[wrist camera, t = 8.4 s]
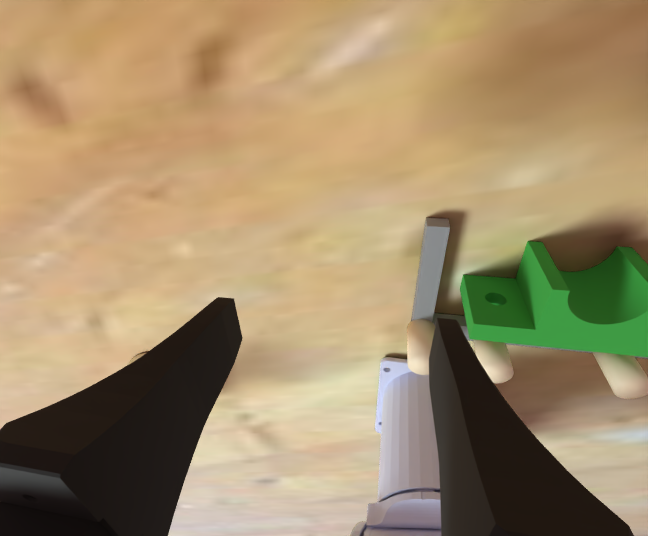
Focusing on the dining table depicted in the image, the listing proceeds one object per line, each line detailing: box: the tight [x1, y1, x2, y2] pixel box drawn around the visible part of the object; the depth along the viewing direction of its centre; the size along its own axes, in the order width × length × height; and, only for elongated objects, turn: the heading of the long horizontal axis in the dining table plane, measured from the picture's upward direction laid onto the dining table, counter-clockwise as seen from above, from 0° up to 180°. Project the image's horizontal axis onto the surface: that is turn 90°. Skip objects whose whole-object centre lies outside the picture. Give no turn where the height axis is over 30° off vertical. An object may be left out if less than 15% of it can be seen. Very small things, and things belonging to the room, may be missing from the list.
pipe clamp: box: [460, 241, 648, 357], centre depth 20 cm, size 11×4×5 cm, turn 92°
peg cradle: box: [407, 218, 648, 399], centre depth 21 cm, size 8×17×4 cm, turn 92°
